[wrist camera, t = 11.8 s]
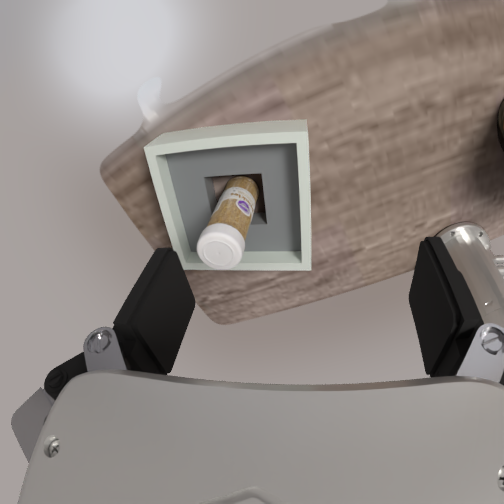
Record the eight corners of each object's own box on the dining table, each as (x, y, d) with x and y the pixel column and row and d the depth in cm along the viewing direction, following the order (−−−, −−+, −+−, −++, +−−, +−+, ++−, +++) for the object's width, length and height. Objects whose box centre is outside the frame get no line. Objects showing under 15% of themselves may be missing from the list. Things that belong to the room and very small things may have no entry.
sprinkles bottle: (265, 185, 39) (250, 249, 28) (249, 211, 41) (229, 278, 31) (234, 168, 38) (206, 225, 27) (219, 195, 40) (188, 258, 30)
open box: (306, 119, 32) (307, 131, 28) (310, 244, 43) (311, 270, 39) (162, 133, 36) (143, 147, 32) (191, 246, 47) (180, 269, 42)
